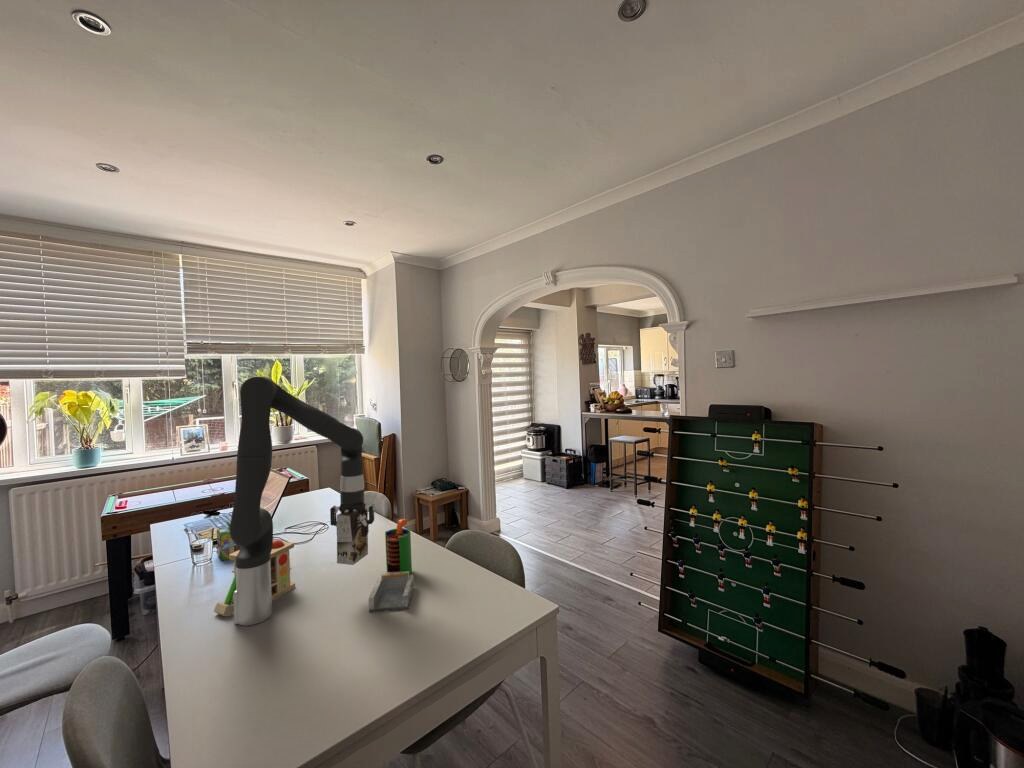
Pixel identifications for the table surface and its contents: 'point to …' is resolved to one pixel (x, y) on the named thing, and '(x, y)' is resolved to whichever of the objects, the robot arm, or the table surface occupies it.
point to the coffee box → (351, 538)
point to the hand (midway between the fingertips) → (352, 536)
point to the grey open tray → (392, 592)
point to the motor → (398, 548)
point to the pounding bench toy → (278, 576)
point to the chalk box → (225, 543)
